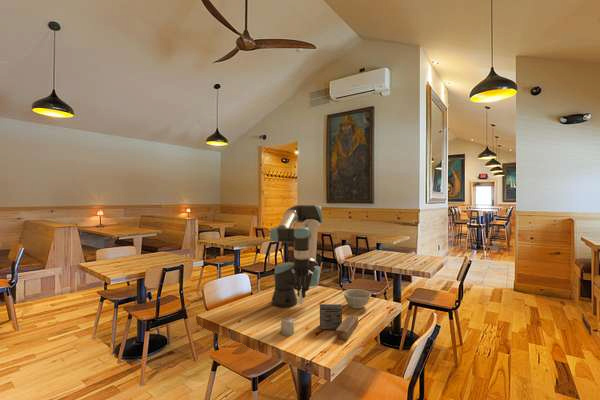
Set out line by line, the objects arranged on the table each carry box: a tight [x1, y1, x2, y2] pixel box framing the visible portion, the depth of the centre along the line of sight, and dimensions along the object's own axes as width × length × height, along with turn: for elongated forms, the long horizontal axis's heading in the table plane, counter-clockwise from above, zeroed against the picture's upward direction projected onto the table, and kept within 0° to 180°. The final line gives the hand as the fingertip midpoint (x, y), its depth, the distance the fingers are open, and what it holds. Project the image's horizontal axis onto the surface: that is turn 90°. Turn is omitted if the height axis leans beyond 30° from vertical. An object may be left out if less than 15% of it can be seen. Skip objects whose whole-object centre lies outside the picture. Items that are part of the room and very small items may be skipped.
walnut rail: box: [335, 314, 359, 342], centre depth 138 cm, size 5×18×4 cm, turn 154°
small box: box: [319, 303, 343, 331], centre depth 142 cm, size 11×6×10 cm, turn 87°
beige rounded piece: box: [280, 317, 295, 337], centre depth 136 cm, size 6×6×6 cm
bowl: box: [342, 288, 372, 309], centre depth 169 cm, size 16×16×8 cm
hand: (301, 303), depth 150 cm, fingers closed
